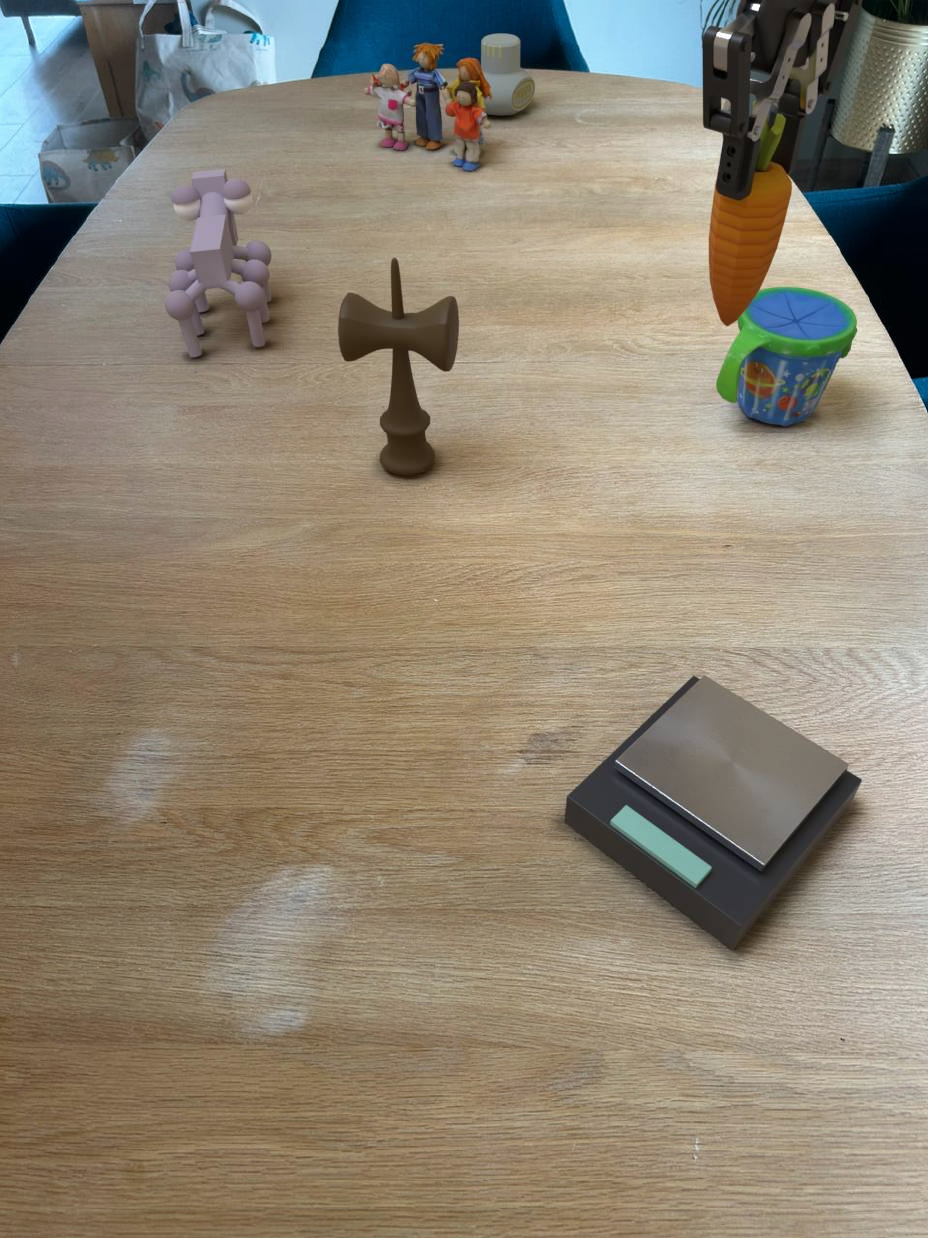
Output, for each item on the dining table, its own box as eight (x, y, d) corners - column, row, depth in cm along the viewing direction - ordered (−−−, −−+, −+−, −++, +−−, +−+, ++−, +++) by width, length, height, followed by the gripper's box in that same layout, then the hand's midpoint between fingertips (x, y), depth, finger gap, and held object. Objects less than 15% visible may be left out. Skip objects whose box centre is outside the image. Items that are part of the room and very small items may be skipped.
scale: (687, 702, 73) (694, 670, 70) (850, 805, 66) (864, 775, 64) (563, 822, 66) (566, 791, 63) (732, 951, 59) (743, 923, 57)
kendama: (453, 487, 90) (448, 279, 76) (349, 478, 91) (325, 271, 77) (463, 448, 94) (460, 243, 80) (364, 440, 96) (343, 237, 81)
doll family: (364, 143, 147) (356, 44, 138) (403, 123, 153) (398, 26, 143) (483, 175, 139) (483, 71, 129) (520, 152, 144) (523, 51, 135)
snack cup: (802, 361, 104) (826, 269, 97) (873, 413, 98) (904, 318, 90) (677, 400, 100) (693, 306, 92) (743, 457, 93) (765, 360, 86)
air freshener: (504, 126, 151) (505, 53, 144) (458, 115, 155) (457, 44, 147) (540, 104, 158) (543, 33, 151) (495, 94, 161) (496, 24, 154)
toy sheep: (192, 273, 120) (166, 156, 110) (282, 268, 120) (264, 151, 111) (174, 361, 106) (142, 236, 96) (275, 355, 106) (254, 231, 97)
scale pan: (702, 682, 69) (704, 674, 69) (846, 771, 64) (849, 763, 63) (613, 768, 64) (614, 760, 64) (761, 872, 59) (764, 865, 58)
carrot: (755, 347, 71) (803, 124, 60) (685, 335, 72) (720, 115, 61) (767, 314, 74) (814, 97, 63) (700, 303, 75) (735, 88, 64)
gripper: (807, -110, 48) (741, 237, 60) (946, -151, 55) (862, 167, 67) (679, -129, 52) (641, 201, 64) (824, -166, 59) (765, 138, 71)
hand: (755, 182), depth 65 cm, fingers closed on carrot, 4 cm apart
